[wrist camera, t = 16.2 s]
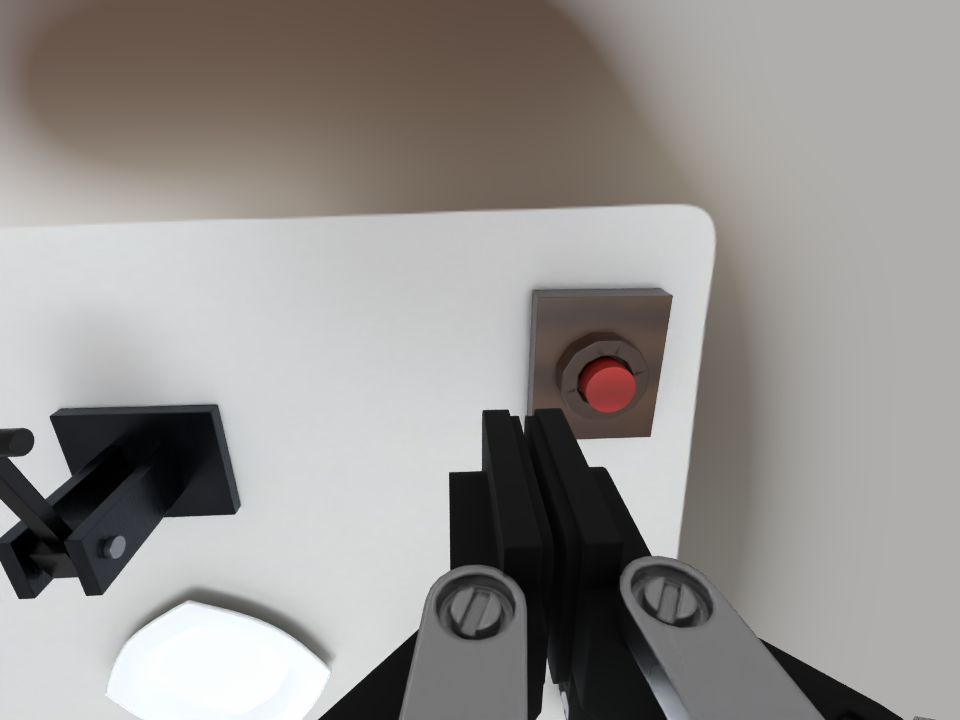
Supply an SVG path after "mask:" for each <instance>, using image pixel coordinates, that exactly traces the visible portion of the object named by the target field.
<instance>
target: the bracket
mask: <svg viewBox="0 0 960 720" xmlns="http://www.w3.org/2000/svg"><path fill="white" fill-rule="evenodd" d="M50 420H51V422H52V425H53V427H54V430H55V433H56V435H57V438H58V441H59V443H60V446H61V448H62V451H63V454H64V456H65V459H66V462H67V464H68V467H69V469H70V472H71V475H72V477H71V478H70V479H69V480H68V481H66V482H65V483H64V484H63V485H62V486H61V487H59V488H58V489H57V490H56V491H55V492H53V493H52V494H51V495H50V496H49V497H48V498H46V499H45V500H46V501H47V502H48V503H49V505H50V506H51V507H52V508H53V509H54V510H55V511H56V512H57V514H58V515H59V516H60V517H61V518H62V519H63V520H64V521H71V520H85V521H84V522H83V523H82V524H81V525H80V526H79V527H78V528H77V529H76V530H75V531H74V532H73V533H72V534H71V535H70V536H69V537H68V538H67V539H66V540H65V541H64V544H65V546H66V549H67V551H68V553H69V556H70V558H71V561H72V563H73V565H74V568H75V570H76V573H77V575H78V577H79V580H80V582H81V585H82V587H83V589H84V592H85V594H86V596H96V595H103V594H104V592H105V591H106V590H107V589H108V587H109V586H110V585H111V583H112V582H113V581H114V580H115V578H116V577H117V576H118V575H119V573H120V572H121V571H122V569H123V568H124V567H125V566H126V564H127V563H128V562H129V561H130V559H131V558H132V557H133V556H134V554H135V553H136V552H137V550H138V549H139V548H140V547H141V545H142V544H143V543H144V542H145V540H146V539H147V538H148V536H149V535H150V534H151V533H152V531H153V530H154V529H155V528H156V526H157V525H158V524H159V522H160V521H161V520H162V519H163V517H185V516H210V515H234V514H236V512H237V511H238V509H239V507H240V501H239V497H238V493H237V488H236V484H235V479H234V475H233V471H232V466H231V462H230V458H229V453H228V449H227V445H226V440H225V436H224V431H223V427H222V423H221V418H220V414H219V410H218V406H217V405H195V406H159V407H122V408H86V409H60V410H58V411H57V412H55V413H54V414H52V415H51V416H50ZM39 540H40V539H39V538H38V537H37V536H36V535H35V534H34V533H33V532H32V531H31V530H30V529H29V528H28V527H27V526H26V525H25V524H24V522H23V521H22V520H21V521H19V522H18V523H17V524H16V525H15V526H14V527H12V528H11V529H10V530H9V531H8V532H6V533H5V534H4V535H3V536H2V537H1V538H0V562H1V564H2V566H3V568H4V570H5V572H6V574H7V576H8V578H9V580H10V582H11V584H12V586H13V588H14V590H15V592H16V594H17V596H18V598H19V599H33V598H36V597H37V596H38V595H39V594H40V593H41V592H42V590H43V589H44V588H45V587H46V586H47V585H48V584H49V583H50V582H51V581H52V580H53V579H54V578H51V577H50V576H49V575H48V574H47V573H46V572H45V571H44V570H43V569H42V568H41V567H40V566H39V565H38V564H36V563H35V562H34V561H33V560H32V559H31V558H30V557H29V554H30V552H31V551H32V549H33V548H34V547H35V545H36V544H37V542H38V541H39Z"/></svg>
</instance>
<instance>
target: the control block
mask: <svg viewBox="0 0 960 720" xmlns="http://www.w3.org/2000/svg"><path fill="white" fill-rule="evenodd" d="M672 297H673V296H672V295H671V294H669V293H667V292H666V291H664V290H662V289H661V288H655V289H583V290H533V299H532V321H531V343H530V365H529V387H528V409H527V416H532V415H534V410H535V409H544V408H561V409H562V410H563V413H564V415H565V417H566V419H567V421H568V423H569V425H570V428H571V430H572V432H573V434H574V436H575V438H576V439H600V438H630V437H650V436H651V430H652V424H653V417H654V411H655V405H656V398H657V392H658V386H659V379H660V373H661V367H662V360H663V354H664V348H665V342H666V335H667V329H668V323H669V316H670V310H671V304H672ZM601 358H612V359H616V360H618V361H619V362H621V363H622V364H623V365H624V366H625V367H626V369H627V370H628V371H629V372H630V373H631V374H632V376H633V377H634V380H635V383H636V390H635V394H634V396H633V398H632V400H631V401H630V402H629V403H628V404H627V405H626V406H625V407H623V408H622V409H620V410H617V411H614V412H602V411H598V410H596V409H595V408H593V407H592V406H591V405H590V404H589V402H588V401H587V399H586V397H585V395H584V394H583V392H582V390H581V387H580V379H581V375H582V373H583V371H584V369H585V368H586V367H587V366H588V365H589V364H590V363H592V362H593V361H595V360H598V359H601Z"/></svg>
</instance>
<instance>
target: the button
mask: <svg viewBox="0 0 960 720" xmlns="http://www.w3.org/2000/svg"><path fill="white" fill-rule="evenodd" d="M580 387H581V390H582V392H583V394H584V395H585V397H586V399H587V401H588V402H589V404H590V405H591V406H592V407H593V408H595V409H596V410H598V411H602V412H614V411H617V410H620V409H622V408H623V407H625V406H626V405H627V404H628V403H629V402H630V401H631V400H632V398H633V396H634V394H635V390H636V383H635V380H634V377H633V376H632V374H631V373H630V372H629V371H628V370H627V369H626V367H625V366H624V365H623V364H622V363H621V362H619V361H618V360H616V359H612V358H601V359H598V360H595V361H593V362H592V363H590V364H589V365H588V366H587V367H586V368H585V369H584V371H583V373H582V375H581V379H580Z"/></svg>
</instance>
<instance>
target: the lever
mask: <svg viewBox="0 0 960 720" xmlns="http://www.w3.org/2000/svg"><path fill="white" fill-rule="evenodd" d="M33 445H34V436H33V433H32V432H31V431H30V430H28V429H26V428H12V429H0V499H1V500H2V501H3V502H4V503H5V504H6V505H7V506H8V507H9V508H10V509H11V510H12V511H13V512H14V513H15V514H16V515H17V516H18V517H19V518H20V519H21V520H22V521H23V522H24V524H25V525H26V526H27V527H28V528H29V529H30V530H31V531H32V532H33V533H34V534H35V535H36V536H37V537H38V538H39V539H40V540H39V541H38V542H37V544H36V545H35V547H34V548H33V549H32V551H31V552H30V554H29V557H30V558H31V559H32V560H33V561H34V562H35V563H36V564H38V565H39V566H40V567H41V568H42V569H43V570H44V571H45V572H46V573H47V574H48V575H49V576H50V577H51V578H72V577H78V575H77V573H76V570H75V568H74V565H73V563H72V561H71V558H70V556H69V553H68V551H67V549H66V546H65V544H64V541H65V540H66V539H67V538H68V537H69V536H70V535H71V534H72V533H73V532H74V531H75V530H76V529H77V528H78V527H79V526H80V525H81V524H82V523H83V522H84V521H85V520H71V521H64V520H63V519H62V518H61V517H60V516H59V515H58V514H57V512H56V511H55V510H54V509H53V508H52V507H51V506H50V505H49V503H48V502H47V501H46V500H45V499H44V498H43V497H42V496H41V494H40V493H39V492H38V491H37V490H36V489H35V488H34V487H33V485H32V484H31V483H30V482H29V481H28V480H27V479H26V478H25V476H24V475H23V474H22V473H21V472H20V471H19V470H18V469H17V467H16V466H15V465H14V464H13V463H12V462H11V461H10V460H9V458H8V457H18V456H24V455H26V454H28V453H29V452H30V451H31V450H32V448H33Z"/></svg>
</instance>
